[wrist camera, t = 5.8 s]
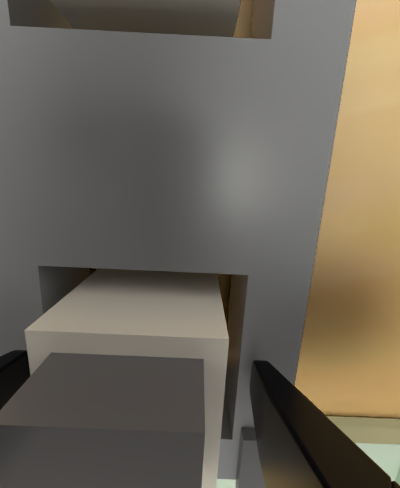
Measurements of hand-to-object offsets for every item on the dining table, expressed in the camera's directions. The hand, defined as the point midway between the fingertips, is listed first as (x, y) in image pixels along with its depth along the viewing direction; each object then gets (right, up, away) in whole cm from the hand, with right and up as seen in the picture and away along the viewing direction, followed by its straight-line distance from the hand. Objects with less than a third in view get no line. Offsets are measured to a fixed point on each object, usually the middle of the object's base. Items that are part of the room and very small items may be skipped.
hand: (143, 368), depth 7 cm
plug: (0, +1, +3) cm, 3 cm away
